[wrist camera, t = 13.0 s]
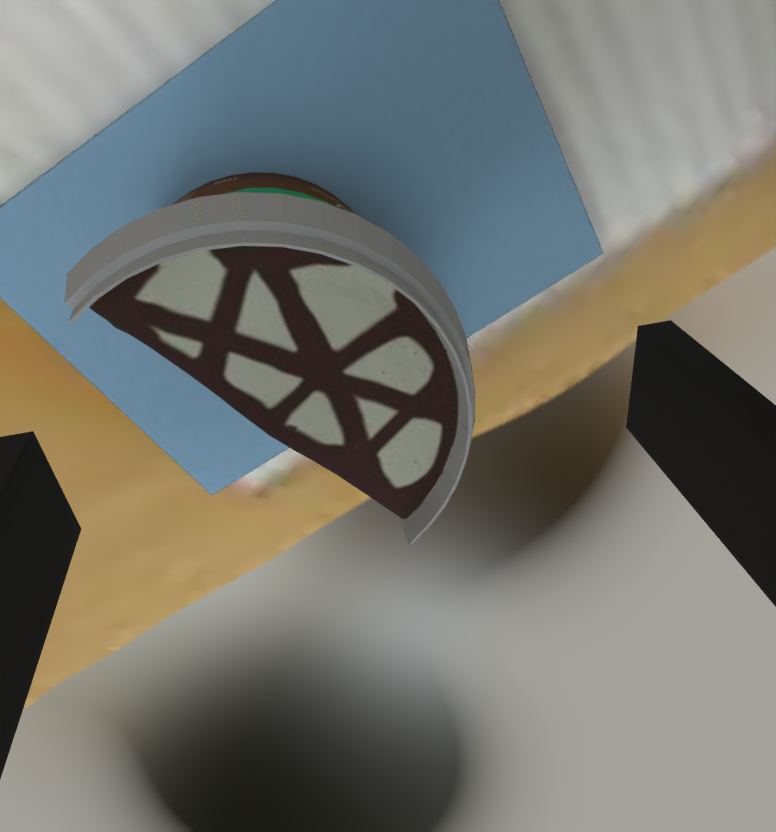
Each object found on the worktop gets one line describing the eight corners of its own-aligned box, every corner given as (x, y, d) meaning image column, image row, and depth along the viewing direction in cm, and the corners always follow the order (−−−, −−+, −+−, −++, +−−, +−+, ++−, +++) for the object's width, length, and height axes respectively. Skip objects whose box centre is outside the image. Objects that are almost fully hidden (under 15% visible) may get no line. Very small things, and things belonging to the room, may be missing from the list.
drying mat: (442, -125, 20) (446, -127, 20) (598, 249, 28) (604, 253, 27) (-49, 243, 23) (-55, 247, 23) (212, 489, 31) (211, 496, 30)
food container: (477, 289, 27) (578, 422, 19) (372, 390, 29) (422, 553, 20) (234, 45, 21) (225, 82, 13) (119, 190, 23) (45, 307, 14)
